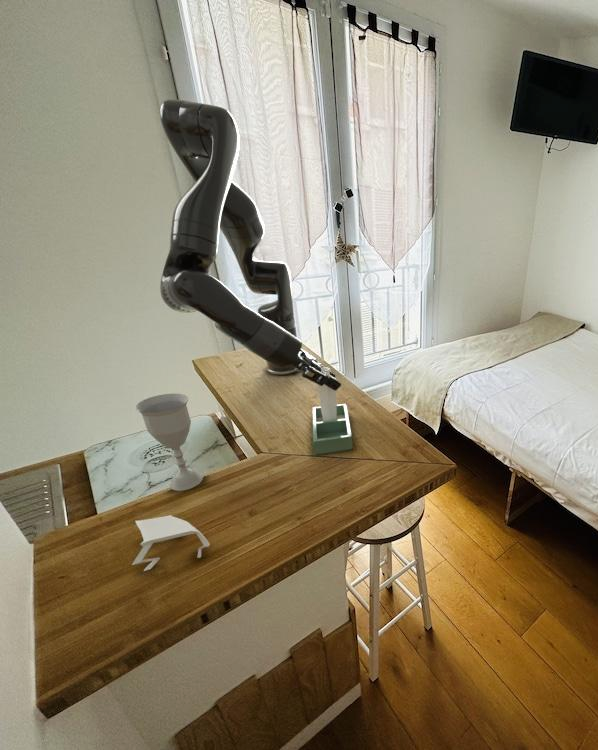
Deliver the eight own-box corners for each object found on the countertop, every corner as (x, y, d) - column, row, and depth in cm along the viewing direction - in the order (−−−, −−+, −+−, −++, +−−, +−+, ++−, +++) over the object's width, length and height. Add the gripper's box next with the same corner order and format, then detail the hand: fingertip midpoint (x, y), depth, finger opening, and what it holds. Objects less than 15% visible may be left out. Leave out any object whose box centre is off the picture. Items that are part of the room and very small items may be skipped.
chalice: (159, 498, 73) (130, 415, 66) (166, 475, 79) (140, 396, 71) (207, 488, 77) (185, 408, 69) (211, 467, 82) (191, 391, 74)
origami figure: (113, 578, 59) (102, 555, 57) (147, 533, 66) (138, 511, 64) (204, 570, 61) (197, 548, 59) (227, 528, 69) (221, 507, 67)
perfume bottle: (343, 419, 101) (339, 366, 95) (335, 428, 97) (330, 373, 91) (325, 417, 101) (320, 363, 95) (317, 426, 97) (311, 371, 91)
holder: (313, 419, 101) (312, 407, 100) (347, 415, 104) (346, 403, 103) (314, 454, 89) (313, 441, 87) (352, 449, 92) (351, 436, 90)
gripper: (290, 340, 79) (355, 383, 91) (278, 319, 89) (337, 359, 101) (264, 369, 78) (333, 408, 90) (254, 344, 88) (317, 382, 100)
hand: (335, 382), depth 95 cm, fingers closed on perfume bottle, 4 cm apart
